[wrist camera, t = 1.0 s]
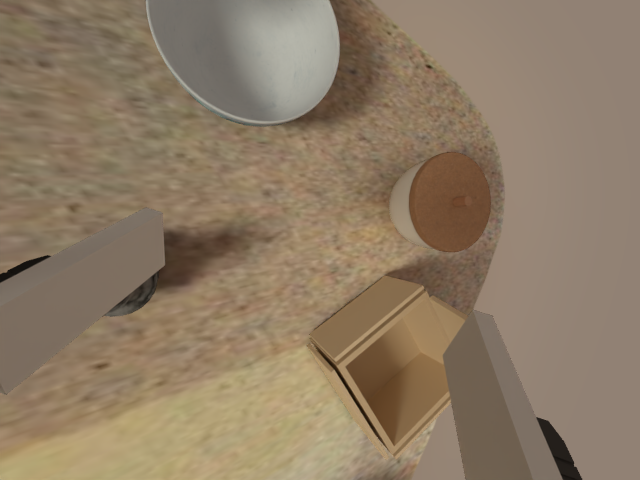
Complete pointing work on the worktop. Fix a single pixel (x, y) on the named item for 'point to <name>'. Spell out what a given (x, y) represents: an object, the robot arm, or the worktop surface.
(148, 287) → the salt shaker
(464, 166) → the lidded jar
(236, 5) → the chinaware
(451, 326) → the flap
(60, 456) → the worktop surface
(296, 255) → the worktop surface
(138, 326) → the worktop surface
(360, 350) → the carton
